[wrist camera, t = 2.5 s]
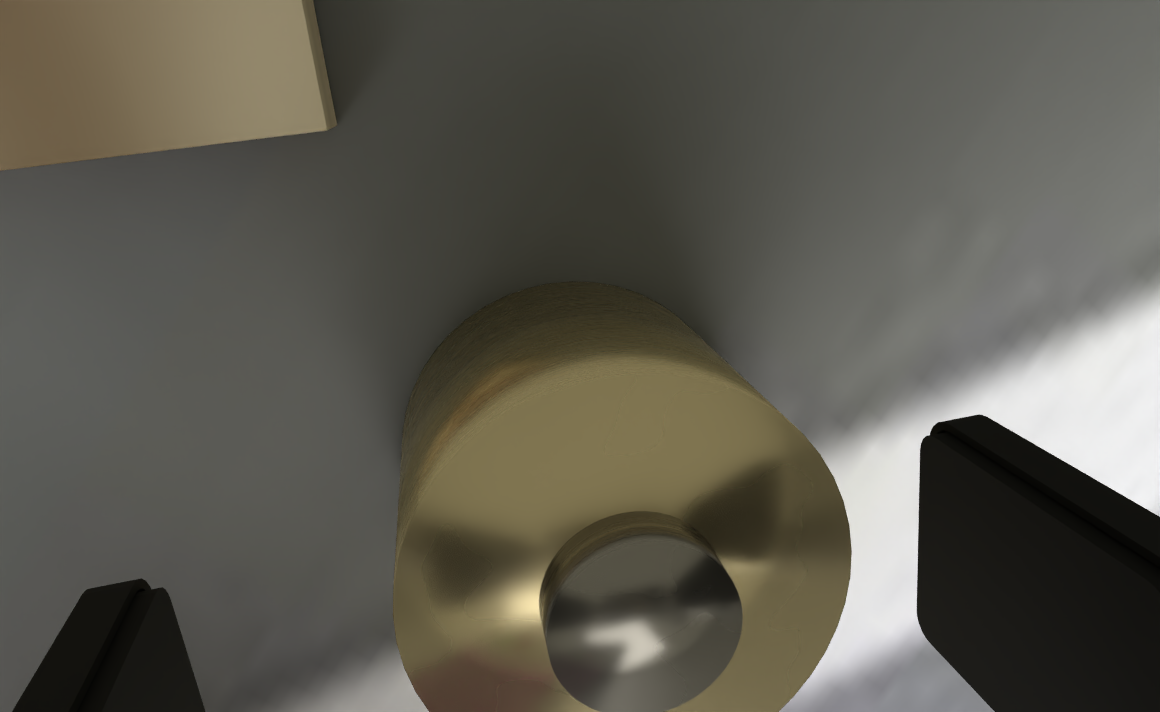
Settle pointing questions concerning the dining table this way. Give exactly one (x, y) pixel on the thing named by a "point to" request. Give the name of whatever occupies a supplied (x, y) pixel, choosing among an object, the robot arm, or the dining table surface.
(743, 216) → the dining table surface
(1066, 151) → the dining table surface
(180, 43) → the carrier
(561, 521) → the gold round vessel
